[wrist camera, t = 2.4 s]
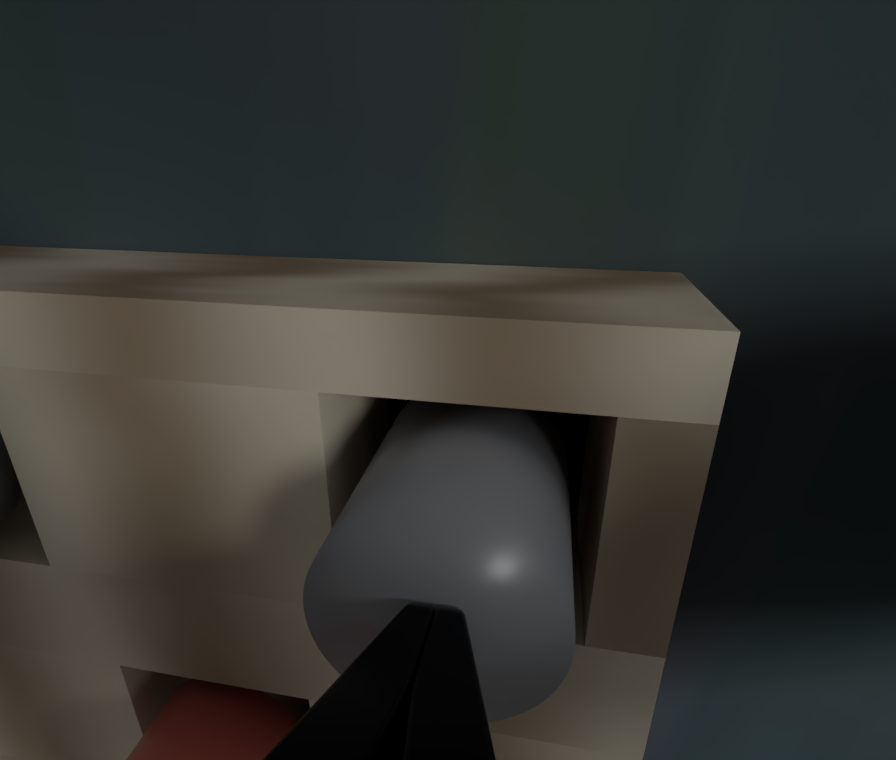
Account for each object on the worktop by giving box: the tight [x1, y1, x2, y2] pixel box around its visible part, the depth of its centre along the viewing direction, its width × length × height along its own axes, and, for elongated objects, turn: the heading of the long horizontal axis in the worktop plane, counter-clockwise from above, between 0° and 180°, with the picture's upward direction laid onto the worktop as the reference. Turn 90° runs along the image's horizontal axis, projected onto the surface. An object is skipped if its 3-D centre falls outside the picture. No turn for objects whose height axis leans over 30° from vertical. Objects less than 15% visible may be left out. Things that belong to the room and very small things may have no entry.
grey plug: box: [303, 400, 576, 722], centre depth 10 cm, size 4×4×4 cm
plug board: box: [0, 246, 740, 760], centre depth 14 cm, size 20×16×4 cm
